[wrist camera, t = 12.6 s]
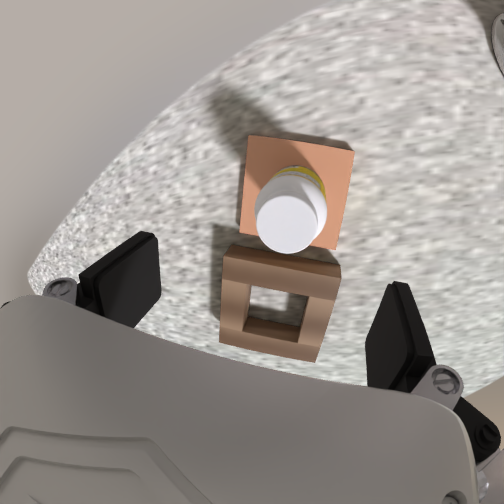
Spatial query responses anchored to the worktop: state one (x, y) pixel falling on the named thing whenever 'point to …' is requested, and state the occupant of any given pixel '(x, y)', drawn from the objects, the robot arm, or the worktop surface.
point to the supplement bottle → (291, 209)
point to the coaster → (304, 154)
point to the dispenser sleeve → (283, 279)
